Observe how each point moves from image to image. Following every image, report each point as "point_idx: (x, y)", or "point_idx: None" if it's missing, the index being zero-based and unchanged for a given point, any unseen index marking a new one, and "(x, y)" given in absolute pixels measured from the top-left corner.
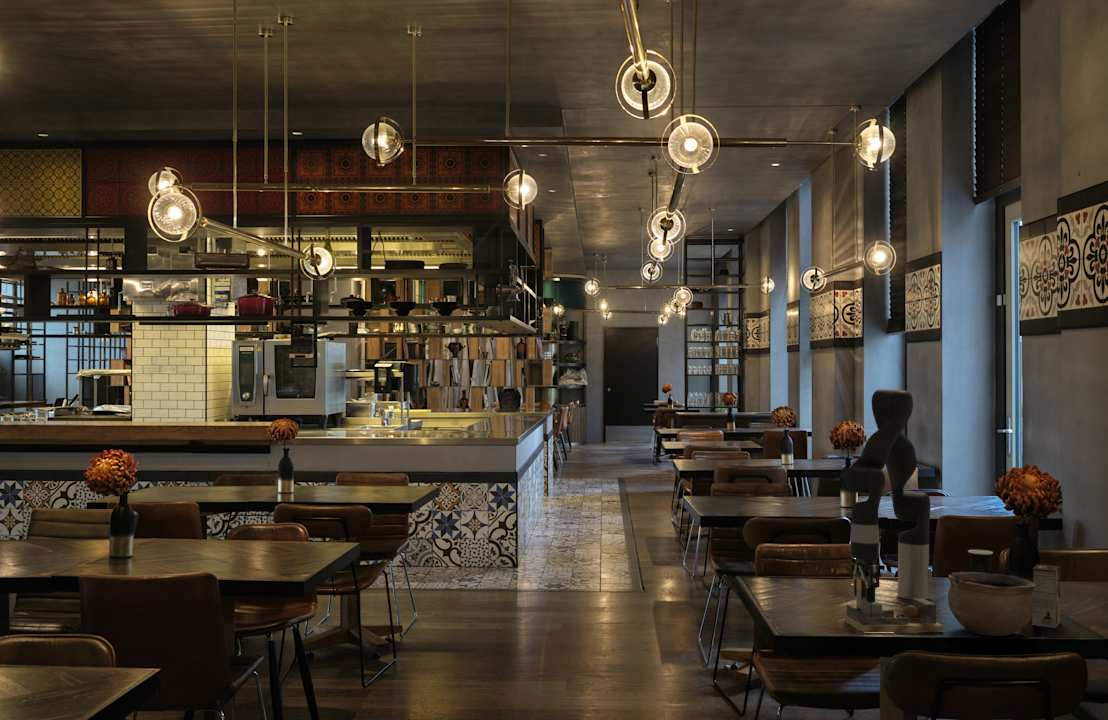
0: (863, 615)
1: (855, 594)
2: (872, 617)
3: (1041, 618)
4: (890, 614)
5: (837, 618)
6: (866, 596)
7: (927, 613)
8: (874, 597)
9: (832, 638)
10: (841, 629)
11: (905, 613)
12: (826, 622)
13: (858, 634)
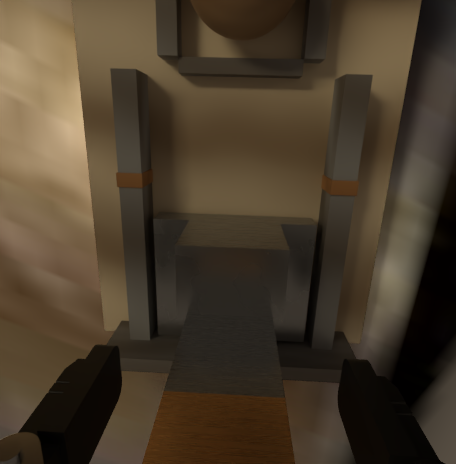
0: None
1: (118, 398)
2: (304, 294)
3: None
4: (144, 98)
5: (50, 314)
6: (350, 441)
7: None
8: (401, 400)
9: None
10: None
11: (262, 34)
12: (131, 384)
13: (353, 351)
